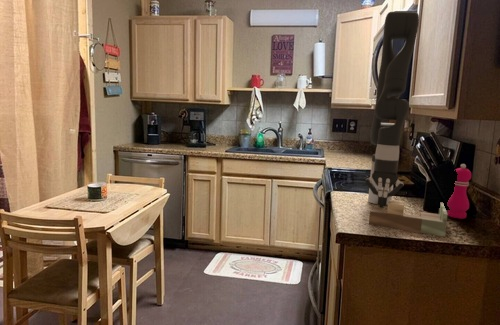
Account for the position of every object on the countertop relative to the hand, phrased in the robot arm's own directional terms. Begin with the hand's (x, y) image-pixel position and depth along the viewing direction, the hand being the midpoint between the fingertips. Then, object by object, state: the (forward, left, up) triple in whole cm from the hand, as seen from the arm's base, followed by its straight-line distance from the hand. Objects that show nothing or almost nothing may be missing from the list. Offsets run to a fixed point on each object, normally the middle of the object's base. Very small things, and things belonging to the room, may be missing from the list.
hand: (381, 207), depth 127 cm
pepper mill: (-22, +26, -5) cm, 34 cm away
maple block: (0, +5, -3) cm, 5 cm away
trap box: (-3, +8, -5) cm, 10 cm away
